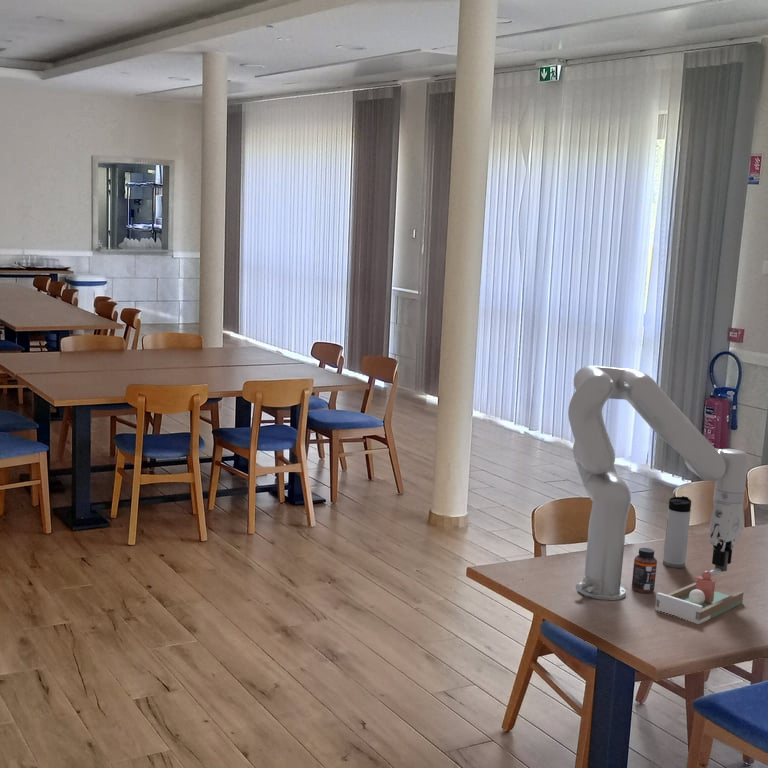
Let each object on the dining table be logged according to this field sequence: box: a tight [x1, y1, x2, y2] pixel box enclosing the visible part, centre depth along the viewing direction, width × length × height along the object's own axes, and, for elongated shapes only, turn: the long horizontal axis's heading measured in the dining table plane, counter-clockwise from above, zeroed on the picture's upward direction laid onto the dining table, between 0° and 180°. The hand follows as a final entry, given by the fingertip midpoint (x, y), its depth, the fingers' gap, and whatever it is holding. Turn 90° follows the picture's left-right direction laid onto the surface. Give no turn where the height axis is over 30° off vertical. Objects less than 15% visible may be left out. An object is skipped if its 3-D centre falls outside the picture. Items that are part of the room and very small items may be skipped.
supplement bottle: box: [631, 547, 658, 594], centre depth 275 cm, size 6×6×11 cm
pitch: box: [654, 581, 744, 625], centre depth 266 cm, size 24×12×4 cm, turn 136°
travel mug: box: [662, 495, 692, 569], centre depth 299 cm, size 6×7×20 cm
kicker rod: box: [695, 550, 729, 603], centre depth 269 cm, size 11×4×12 cm, turn 136°
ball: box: [689, 589, 705, 605], centre depth 264 cm, size 4×4×4 cm
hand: (721, 563), depth 272 cm, fingers closed on kicker rod, 3 cm apart
